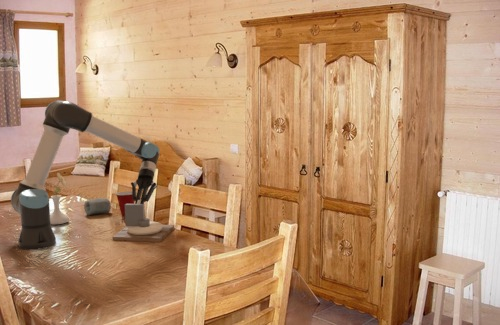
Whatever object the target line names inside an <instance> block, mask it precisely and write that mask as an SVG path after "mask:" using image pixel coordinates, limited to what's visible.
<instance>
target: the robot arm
mask: <svg viewBox="0 0 500 325" xmlns="http://www.w3.org/2000/svg"><path fill="white" fill-rule="evenodd" d="M42 126H43V127H42V128H44V130H43V132H42V136H41V137H40V139H39V143H38V144H37V147H36V151H35V152H34V156H33V157H32V160H31V163H30V166H29V168H28V171H27V173H26V175H25V178H24V179H22V180H20V181H19V183H18V186H17V188H16V189H15V190H13V193H12V194H11V196H10V203H11V206H12V209H14V211H15V212H16V213H18V214H19V215H20V221H21V222H20V224H21V230H20V233H19V237H18V245H17V246H18V248H19V249H21V250H28V251H29V250H30V251H34V250H42V249H45V248H50V247H53V246H54V245H56V244H57V239H56V235H55V233H54V231H53V228H52V224H50V215H51V213H50V212H51V211H50V210H51V209H50V197H49V193H48V192H47V189H46V187H45V184H46V182H47V180H48V177H49V174H50V171H51V170H52V169H51V168H52V166H53V164H54V161H55V159H56V156H57V153H58V151H59V149H60V146H61V143H62V141H63V138H64V137H65V136H66V135H69V132H70V130H75V131H78V132H80V133H85V132H86V133H88V134H91V135H92V136H95V137H98V138H99V139H101V140H104V141H106V142H108V143H111V144H113V145H115V146H118V147H120V148H123V150H125V151H126V152H128V153H130V154H132V155H134V156H135V157H137V158H139V159H140V160H141V163H140V167H139V171H138V175H137V178H136V181H135V182H132V181H131V183H130V185H131V190H132V191H131V192H132V198H133V200H134V204H144V205H145V202H147V203H148V202H149V201H150V199H151V197H152V195H153V193H154V191H155V189H156V188H157V187H158V185H157V183H156V182H154V177H155V172H156V169H157V164H158V160H159V157H160V147H159V146H158V145H156V144H154V143H153V142H151V141H147V140H145V139H143V138H141V137H138V136H137V135H135V134H132V133H130V132H128V131H126V130H123V129H121V128H119V127H117V126H114V125H113V124H111V123H109V122H106V121H105V120H103V119H100V118H98V117H95V116H94V115H93V113H92V112H90V111H88V110H86V109H85V108H82V107H81V106H79V105H78V104H76V103H74V102H72V101H67V100H54V101H52V102H50V103H49V104H48V105H47V107H46V108H45V110H44V120H43V122H42ZM137 188H138V189H137Z"/></svg>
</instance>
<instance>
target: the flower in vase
mask: <svg viewBox="0 0 500 325" xmlns="http://www.w3.org/2000/svg"><path fill="white" fill-rule="evenodd" d="M56 176H57V179H58V180H59V181H58V183H57V185H56V188H55V189H54V190H53V192H52V193H53V194H55V195H51V196H50V198H51V199H52V201H53V208H54V209H53V211H52V213H50V225H61V224H65V223H67V222H69V221H70V217H69V216H68V215H67V214H66V213H64V212H62V211H61V210H60V200H61V197H62V195H60V194H57V193H61V188H60V187H58V186H59V184H61V185H62V186H63V187H67V186H68V185H67V184H68V183H67V182H66V179H65V178H64V177H63V175H61V173H60V172H57V173H56Z"/></svg>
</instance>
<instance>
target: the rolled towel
mask: <svg viewBox="0 0 500 325" xmlns="http://www.w3.org/2000/svg"><path fill="white" fill-rule="evenodd" d="M111 207H112V206H111V201H110V200H109V199H108V198H104V197H101V198H100V197H99V198H93V199H92V198H91V199H88V200H86V201H85V202H84V205H83V208H84V212H85V214H86V215H88V216H93V215H98V214H99V215H100V214H107V213H109V212H110V211H111Z"/></svg>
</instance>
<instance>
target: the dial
mask: <svg viewBox="0 0 500 325" xmlns="http://www.w3.org/2000/svg"><path fill="white" fill-rule="evenodd" d="M145 212H146V211H145V203H144V204H135V203H134V204H125V216H124V219H125V221H124V223H125V227H126V226H127V227H126V228H127V233H129V234H133V235H149V234H154V233H158V232H160V231H161V230H162V225H163V224H162V223H161V222H157V221H151V220H150V217H149V218H147V217H146V216H145Z"/></svg>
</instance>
